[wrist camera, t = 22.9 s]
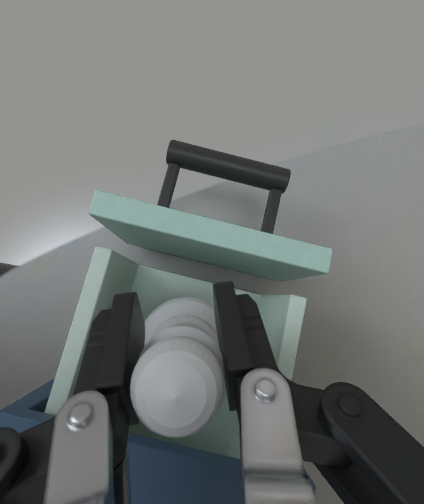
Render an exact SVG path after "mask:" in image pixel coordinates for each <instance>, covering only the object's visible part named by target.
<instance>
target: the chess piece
mask: <svg viewBox="0 0 424 504" xmlns="http://www.w3.org/2000/svg"><path fill="white" fill-rule="evenodd" d="M224 375H225V373H224V364H223V357H222V354H221V352H220V349H219V343H218V336H217V330H216V323H215V314H214V305H212V304H210V303H208V302H206V301H204V300H201V299H198V298H191V297H182V298H176V299H172V300H169V301H167V302H165V303H163V304H161V305H160V306H158V307H157V308H156V309H155V310H153V311H152V313H151V314H150V315H149V316H148V317H147V318H146V320H145V345H144V348H143V350H142V352H141V354H140V356H139V359H138V362H137V364H136V366H135V368H134V371H133V374H132V377H131V383H130V396H131V400H132V405H133V408H134V410H135V412H136V414H137V416H138V418H139V419H140V420H141V422H142V423H143V424H144V425H145V426H146V427H147V428H148V429H149V430H151V431H153V432H154V433H156V434H158V435H161V436H164V437H168V438H182V437H187V436H190V435H193V434H195V433H197V432H199V431H200V430H202V429H203V428H204V427H206V426H207V425H208V424H209V423H210V422H211V420H212V419H213V418H214V417H215V415H216V414H217V412H218V410H219V408H220V406H221V403H222V400H223V397H224V388H225V385H224Z"/></svg>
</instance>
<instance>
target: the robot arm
mask: <svg viewBox="0 0 424 504" xmlns="http://www.w3.org/2000/svg"><path fill="white" fill-rule="evenodd" d="M213 298H214V314H215V323H216V330H217V336H218V343H219V349H220V352H221V354H222V357H223V364H224V373H225V375H224V380H225V386H226V393H227V399H228V405H229V411H236V410H237V416H238V421H239V443H240V480H241V504H315V498H314V493H313V489H312V486H311V482H310V480H309V478H308V476H307V475H306V473H305V471H304V467H303V462H302V460H304V461H308V462H313V463H314V465H315V466H316V467H317V468H318V470H319V471H320V472H321V474H322V475H323V476H324V478H325V479H326V480H327V481H328V483H329V484H330V485H331V487H332V488H333V489H334V491H335V492H336V493H337V495H338V496H339V497H340V498H341V500H342V501H343V502H344V504H424V447H423V446H422V445H421V444H420V443H418V442H417V441H416V440H415V439H414V438H413V437H412V436H411V435H410V434H409V433H408V432H407V431H406V430H405V429H404V428H402V427H401V426H400V425H399V424H398V423H397V422H396V421H395V420H394V419H393V418H392V417H391V416H390V415H389V414H388V413H386V412H385V411H384V410H383V409H382V408H381V407H380V406H379V405H378V404H377V403H376V402H375V401H374V400H373V399H372V398H370V397H369V396H368V395H367V394H366V393H365V392H364V391H363V390H361V389H360V388H358V387H356V386H354V385H352V384H349V383H344V382H338V383H333V384H331V385H329V386H328V387H327V388H326V389H325V390H321V389H316V388H311V387H306V386H301V385H298V384H296V383H294V382H292V381H290V380H289V379H287V378H286V377H285V376H284V375H283V374H282V373H281V372H280V370H279V368H278V367H277V364H276V361H275V358H274V355H273V352H272V349H271V346H270V343H269V340H268V337H267V334H266V330H265V327H264V324H263V321H262V318H261V315H260V312H259V309H258V306H257V303H256V302H255V301H254V300H253V299H252V298H251V297H250V295H249V294H241V295H236V293H235V289H234V285H233V282H232V281H231V282H222V283H213ZM144 345H145V322H144V318H143V314H142V310H141V306H140V302H139V299H138V295H137V293H136V292H130V293H121V294H115V295H114V299H113V304H112V309H107V310H101V311H100V312H99V314H98V315H97V317H96V318H95V319H94V321H93V322H92V325H91V329H90V333H89V338H88V341H87V345H86V349H85V352H84V356H83V360H82V364H81V368H80V372H79V375H78V379H77V383H76V387H75V390H74V393H73V396H72V397H71V398H69V399H68V400H67V401H66V402H65V403H64V404H63V405H62V407H61V408H60V409H59V411H58V413H57V415H55V416H54V417H52V418H51V419H49V420H47V421H45V422H43V423H41V424H38V425H36V426H34V427H32V428H30V429H27V430H25V431H23V432H21V433H18V432H17V431H16V430H14V429H13V428H10V427H1V428H0V504H132V499H131V480H130V462H129V447H128V443H127V442H128V432H129V425H134V424H139V418H138V416H137V414H136V412H135V410H134V408H133V405H132V400H131V396H130V383H131V377H132V374H133V371H134V368H135V366H136V364H137V362H138V359H139V356H140V354H141V352H142V350H143V348H144Z"/></svg>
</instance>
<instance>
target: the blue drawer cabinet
mask: <svg viewBox="0 0 424 504" xmlns="http://www.w3.org/2000/svg"><path fill="white" fill-rule="evenodd" d="M54 380H55V379H53V380H51V381H50V382H48V383H46V384H45V385H43V386H41V387H39V388H38V389H36V390H34V391H33V392H31V393H29V394H28V395H26V396H24V397H23V398H21V399H19V400H17V401H16V402H14V403H12V404H11V405H9V406H7V407H5V408H4V409H2V410H0V428H1V427H10V428H13V429H14V430H16V431H17V432H18V433H21V432H23V431H25V430H27V429H30V428H32V427H34V426H36V425H38V424H41V423H43V422H45V421H47V420H49V419H51V418H52V417H54V416H55V415H51V414H47V413H44V412H45V409H46V406H47V402H48V399H49V396H50V393H51V389H52V386H53V383H54ZM127 443H128V447H129V462H130V480H131V499H132V504H241V480H240V459H238V458H234V457H229V456H225V455H221V454H217V453H212V452H208V451H204V450H200V449H195V448H191V447H187V446H183V445H179V444H174V443H170V442H166V441H162V440H157V439H153V438H149V437H145V436H140V435H136V434H132V433H128V442H127ZM304 471H305V469H304ZM305 473H306V475H307V472H306V471H305ZM307 476H308V475H307ZM308 478H309V480H310V482H311V486H312V489H313V493H314V494H315V485H314V483H313V482H312V480H311V478H310V477H309V476H308Z"/></svg>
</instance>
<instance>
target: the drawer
mask: <svg viewBox="0 0 424 504" xmlns="http://www.w3.org/2000/svg"><path fill="white" fill-rule="evenodd" d="M166 162H167V164H168V169H167V172H166V176H165V179H164V183H163V186H162V190H161V194H160V197H159V201H158V204H157V205H154V204H150V203H146V202H142V201H138V200H134V199H130V198H126V197H122V196H119V195H114V194H110V193H106V192H102V191H98V190H96V191H95V193H94V196H93V199H92V203H91V206H90V209H89V212H88V213H89V215H91V216H92V217H93V218H95V219H96V220H97V221H99V222H100V223H101V224H102V225H104V226H105V227H106V228H108V229H109V230H110V231H112V232H113V233H114V234H115V235H117V236H118V237H119V238H121V239H122V240H123V241H125V242H126V243H127V244H131V245H135V246H139V247H143V248H147V249H152V250H156V251H160V252H164V253H168V254H172V255H176V256H180V257H184V258H188V259H192V260H196V261H200V262H204V263H208V264H212V265H216V266H220V267H224V268H228V269H232V270H236V271H240V272H244V273H248V274H252V275H256V276H261V277H265V278H269V279H273V280H277V281H286V280H292V279H298V278H304V277H310V276H316V275H322V274H328V273H329V269H330V264H331V258H332V253H333V250H332V249H330V248H326V247H322V246H318V245H314V244H310V243H306V242H302V241H298V240H294V239H290V238H286V237H282V236H278V235H274V234H273V230H274V225H275V220H276V216H277V211H278V206H279V202H280V197H281V193H284V192H285V190H286V188H287V186H288V183H289V179H290V173H291V172H290V170H289V169H285V168H282V167H278V166H274V165H269V164H265V163H262V162H258V161H254V160H250V159H246V158H242V157H238V156H235V155H230V154H227V153H223V152H218V151H215V150H210V149H207V148H203V147H199V146H195V145H191V144H188V143H184V142H180V141H176V140H171V141H170V143H169V146H168V151H167V157H166ZM179 167H180V168H184V169H188V170H191V171H196V172H200V173H203V174H207V175H211V176H216V177H219V178H223V179H227V180H231V181H235V182H239V183H243V184H247V185H251V186H255V187H258V188H262V189H266V190H270V192H269V196H268V201H267V205H266V210H265V214H264V219H263V223H262V228H261V231H258V230H254V229H250V228H246V227H242V226H238V225H234V224H230V223H226V222H222V221H218V220H214V219H210V218H206V217H202V216H198V215H194V214H190V213H186V212H182V211H178V210H174V209H170V208H169V206H170V203H171V199H172V196H173V192H174V188H175V185H176V181H177V177H178V174H179V170H180V168H179ZM234 289H235V293H236V295H241V294H249V295H250V297H251V298H252V299H253V300H254V301H255V302H256V303H257V306H258V309H259V312H260V315H261V318H262V321H263V324H264V327H265V330H266V334H267V337H268V340H269V343H270V346H271V349H272V352H273V355H274V358H275V361H276V364H277V367H278V368H279V370H280V372H281V373H282V374H283V375H284V376H285V377H286V378H287V379H289V380H290V381H292V375H293V370H294V365H295V360H296V354H297V349H298V344H299V339H300V333H301V328H302V323H303V318H304V312H305V307H306V302H307V298H305V297H301V296H297V295H293V294H287V295H260V294H256V293H252V292H248V291H244V290H240V289H236V288H234ZM130 292H136V293H137V295H138V299H139V302H140V306H141V310H142V314H143V318H144V322H145V320H146V318H147V317H148V316H149V315H150V314H151V313H152V311H153V310H155V309H156V308H157V307H158V306H160V305H161V304H163V303H165V302H167V301H169V300H172V299H176V298H182V297H191V298H198V299H201V300H204V301H206V302H208V303H210V304H212V305H214V298H213V283H211V282H207V281H203V280H199V279H195V278H191V277H187V276H183V275H179V274H175V273H171V272H167V271H163V270H159V269H155V268H151V267H146V266H142V265H138V264H136V263H135V262H133V261H131V260H129V259H127V258H126V257H124V256H122V255H120V254H118V253H116V252H115V251H113V250H111V249H107V248H103V247H98V246H96V247H95V250H94V253H93V256H92V260H91V263H90V266H89V269H88V273H87V276H86V279H85V282H84V286H83V289H82V292H81V295H80V299H79V302H78V305H77V308H76V312H75V315H74V318H73V321H72V325H71V328H70V331H69V334H68V338H67V341H66V344H65V347H64V350H63V354H62V357H61V360H60V363H59V367H58V370H57V373H56V376H55V380H54V383H53V386H52V389H51V393H50V396H49V399H48V402H47V406H46V409H45V412H44V413H47V414H51V415H57V413H58V411H59V409H60V408H61V407H62V405H63V404H64V403H65V402H66V401H67V400H68V399H69V398H71V397H72V396H73V393H74V390H75V387H76V383H77V379H78V375H79V372H80V368H81V364H82V360H83V356H84V352H85V349H86V345H87V341H88V338H89V333H90V329H91V325H92V322H93V321H94V319H95V318H96V317H97V315H98V314H99V312H100V311H101V310H107V309H112V304H113V299H114V295H115V294H121V293H130ZM224 385H225V380H224ZM128 433H132V434H136V435H140V436H145V437H149V438H153V439H157V440H162V441H166V442H170V443H174V444H179V445H183V446H187V447H191V448H195V449H200V450H204V451H208V452H212V453H217V454H221V455H225V456H229V457H234V458H238V459H240V443H239V421H238V416H237V410H236V411H229V405H228V399H227V393H226V386H225V388H224V397H223V400H222V403H221V406H220V408H219V410H218V412H217V414H216V415H215V417H214V418H213V419H212V420H211V422H210V423H209V424H208V425H207V426H206V427H204V428H203V429H202V430H200V431H199V432H197V433H195V434H193V435H190V436H187V437H182V438H168V437H164V436H161V435H158V434H156V433H154V432H153V431H151V430H149V429H148V428H147V427H146V426H145V425H144V424H143V423H142V422H141V420H140V419H139V424H134V425H129V432H128Z"/></svg>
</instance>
